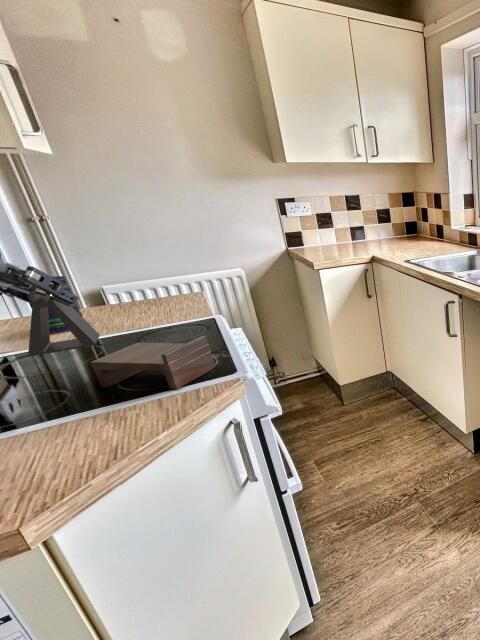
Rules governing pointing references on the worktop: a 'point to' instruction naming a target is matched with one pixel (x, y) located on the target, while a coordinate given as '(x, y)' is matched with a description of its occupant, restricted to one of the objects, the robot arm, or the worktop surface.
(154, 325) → the worktop surface
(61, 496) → the worktop surface
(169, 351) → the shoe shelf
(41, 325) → the phone stand
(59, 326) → the blue green striped cylinder
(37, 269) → the robot arm
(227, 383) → the worktop surface
